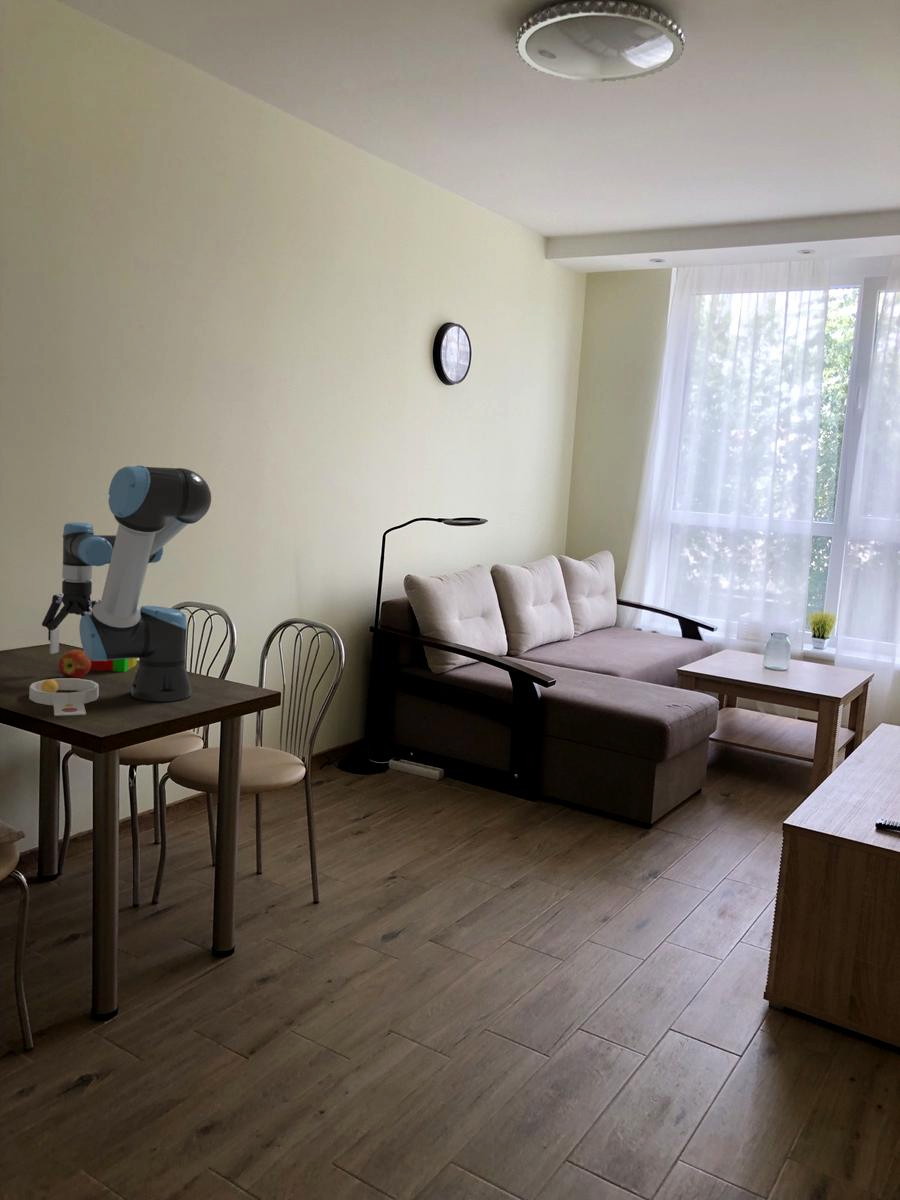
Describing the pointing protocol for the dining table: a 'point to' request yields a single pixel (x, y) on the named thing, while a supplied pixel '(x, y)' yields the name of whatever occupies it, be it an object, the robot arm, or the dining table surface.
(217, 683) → the dining table surface
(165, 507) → the robot arm
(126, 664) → the puzzle toy
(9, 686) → the dining table surface
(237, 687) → the dining table surface
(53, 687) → the orange egg
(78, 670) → the apple
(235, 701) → the dining table surface
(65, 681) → the ring
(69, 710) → the card
